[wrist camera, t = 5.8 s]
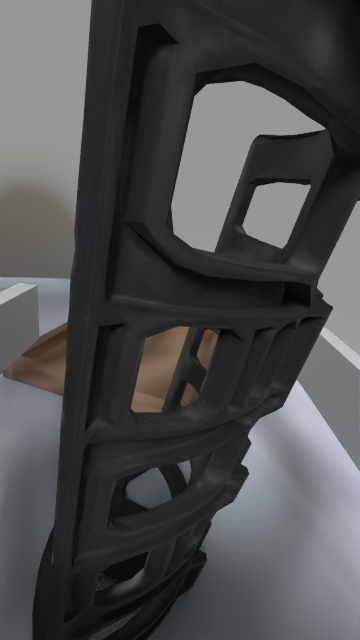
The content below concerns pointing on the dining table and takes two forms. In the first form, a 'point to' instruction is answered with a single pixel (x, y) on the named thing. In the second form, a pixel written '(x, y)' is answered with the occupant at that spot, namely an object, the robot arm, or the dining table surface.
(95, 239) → the holder
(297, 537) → the dining table surface
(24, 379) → the tray
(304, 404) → the dining table surface
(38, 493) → the dining table surface
